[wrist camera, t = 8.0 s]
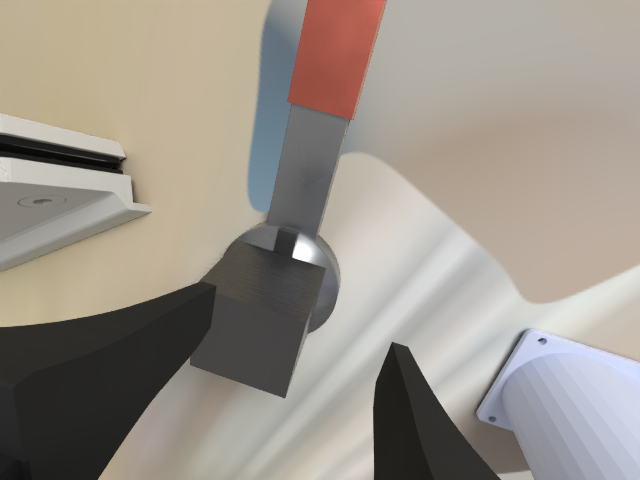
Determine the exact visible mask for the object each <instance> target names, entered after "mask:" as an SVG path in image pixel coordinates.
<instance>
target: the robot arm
mask: <svg viewBox="0 0 640 480" xmlns="http://www.w3.org/2000/svg"><path fill="white" fill-rule="evenodd" d="M216 287H217V286H216V285H213V284H209V283H206V282H203V281H202V282H199V283H196V284H193V285H190V286H188V287H185V288H182V289H180V290H177V291H174V292H171V293H169V294H166V295H163V296H161V297H158V298H155V299H152V300H149V301H146V302H142V303H139V304H136V305H133V306H130V307H126V308H123V309H119V310H115V311H111V312H107V313H103V314H98V315H94V316H88V317H83V318H77V319H71V320H66V321H60V322H52V323H44V324H35V325H26V326H14V327H0V480H98V478H99V477H100V475H101V474H102V472H103V471H104V469H105V468H106V466H107V465H108V463H109V462H110V460H111V458H112V457H113V455H114V454H115V452H116V451H117V450H118V448H119V447H120V445H121V444H122V442H123V441H124V439H125V438H126V436H127V435H128V433H129V432H130V431H131V429H132V428H133V426H134V425H135V423H136V422H137V421H138V419H139V418H140V416H141V415H142V414H143V412H144V411H145V409H146V408H147V407H148V405H149V404H150V403H151V401H152V400H153V399H154V398H155V396H156V395H157V394H158V393H159V391H160V390H161V389H162V388H163V387H164V386H165V385H166V383H167V382H168V381H169V380H170V379H171V378H172V377H173V375H174V374H175V373H176V372H177V371H178V370H179V368H180V367H181V366H182V365H183V364H184V363H185V362H186V360H187V359H188V358H189V357H190V356H191V355H192V353H193V352H194V351H195V350H196V349H197V347H198V346H199V344H200V343H201V341H202V340H203V338H204V337H205V335H206V334H207V332H208V331H209V329H210V328H211V322H212V315H213V308H214V301H215V294H216ZM540 338H544V339H543V340H542V341H538V340H539V339H540ZM477 416H478V418H479V420H481V421H483V422H486V423H489V424H492V425H495V426H498V427H501V428H504V429H507V430H509V431H512V432H514V434H515V436H516V438H517V440H518V443H519V445H520V447H521V450H522V452H523V454H524V457H525V459H526V461H527V463H528V466H529V468H530V470H531V473H532V475H533V477H534V480H640V362H637V361H634V360H631V359H628V358H624V357H621V356H618V355H615V354H612V353H609V352H605V351H602V350H599V349H596V348H593V347H590V346H586V345H583V344H580V343H577V342H574V341H571V340H567V339H564V338H561V337H558V336H555V335H552V334H548V333H545V332H542V331H539V330H536V329H529V330H527V331H526V332H525V333H524V334H523V336H522V337H521V339H520V341H519V342H518V344H517V346H516V347H515V349H514V351H513V352H512V354H511V356H510V357H509V359H508V360H507V362H506V364H505V365H504V367H503V369H502V370H501V372H500V374H499V375H498V377H497V379H496V380H495V382H494V383H493V385H492V387H491V388H490V390H489V392H488V393H487V395H486V397H485V398H484V400H483V402H482V403H481V405H480V407H479V408H478V410H477ZM491 416H493V417H491ZM373 430H374V480H501V479H500V478H499V477H498V476H497V475H496V474H495V473H494V472H493V471H492V470H491V468H490V467H489V466H488V465H487V464H486V463H485V462H484V460H483V459H482V458H481V457H480V456H479V455H478V454H477V452H476V451H475V450H474V449H473V448H472V446H471V445H470V444H469V443H468V442H467V440H466V439H465V438H464V436H463V435H462V434H461V432H460V431H459V430H458V428H457V427H456V426H455V425H454V423H453V422H452V420H451V419H450V418H449V416H448V415H447V413H446V412H445V410H444V409H443V407H442V406H441V404H440V403H439V401H438V399H437V398H436V396H435V395H434V393H433V391H432V390H431V388H430V386H429V385H428V383H427V381H426V379H425V378H424V376H423V374H422V372H421V370H420V369H419V367H418V365H417V363H416V361H415V359H414V357H413V355H412V354H411V352H410V350H409V348H408V347H407V346H403V345H400V344H397V343H394V342H392V343H391V346H390V348H389V351H388V353H387V356H386V358H385V361H384V363H383V366H382V368H381V371H380V373H379V376H378V378H377V381H376V386H375V395H374V405H373Z"/></svg>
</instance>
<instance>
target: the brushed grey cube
mask: <svg viewBox="0 0 640 480" xmlns="http://www.w3.org/2000/svg"><path fill="white" fill-rule="evenodd" d="M325 272H326V268H324V267H321V266H318V265H315V264H312V263H309V262H305V261H302V260H299V259H296V258H293V257H290V256H287V255H283V254H280V253H277V252H274V251H271V250H268V249H264V248H261V247H258V246H255V245H252V244H249V243H246V242H242V241H238V242H237V243H236V244H235V245H234V246H233V247H232V248H231V249H230V250H229V251H228V252H227V253H226V254H225V255H224V256H223V258H222V259H221V260H220V261H219V262H218V263H217V264H216V265H215V266H214V267H213V268H212V269H211V270H210V271H209V272H208V273H207V274H206V275H205V276H204V277H203V278H202V279H201V280H200V281H199V282H202V281H203V282H206V283H209V284H213V285H216V286H217V287H216V294H215V301H214V308H213V315H212V322H211V328H210V329H209V331H208V332H207V334H206V335H205V337H204V338H203V340H202V341H201V343H200V344H199V346H198V347H197V349H196V350H195V351H194V352H193V353H192V355H191V358H190V365H192V366H195V367H197V368H200V369H203V370H206V371H209V372H212V373H214V374H217V375H220V376H223V377H226V378H229V379H231V380H234V381H237V382H240V383H243V384H246V385H249V386H251V387H254V388H257V389H260V390H263V391H266V392H268V393H271V394H274V395H277V396H280V397H283V398H285V397H286V394H287V391H288V388H289V385H290V383H291V380H292V377H293V374H294V371H295V368H296V365H297V362H298V359H299V357H300V354H301V351H302V348H303V345H304V342H305V339H306V336H307V333H308V330H309V326H310V323H311V319H312V316H313V313H314V309H315V306H316V302H317V299H318V296H319V292H320V289H321V285H322V282H323V278H324V275H325ZM199 282H198V283H199Z"/></svg>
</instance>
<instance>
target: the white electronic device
mask: <svg viewBox="0 0 640 480" xmlns="http://www.w3.org/2000/svg"><path fill="white" fill-rule="evenodd" d="M125 157H126V156H125V154H124V151H123V149H122V147H121V146H120V144H119V143H118V142H116V141H112V140H108V139H104V138H100V137H96V136H92V135H88V134H83V133H79V132H75V131H71V130H67V129H63V128H59V127H55V126H50V125H46V124H42V123H38V122H34V121H30V120H26V119H22V118H17V117H13V116H9V115H5V114H1V113H0V270H7V269H9V268H12V267H14V266H17V265H19V264H22V263H24V262H27V261H29V260H32V259H34V258H37V257H39V256H42V255H44V254H47V253H49V252H52V251H54V250H57V249H59V248H62V247H65V246H67V245H70V244H72V243H75V242H77V241H80V240H82V239H85V238H87V237H90V236H92V235H95V234H97V233H100V232H102V231H105V230H107V229H110V228H112V227H115V226H117V225H120V224H122V223H125V222H127V221H130V220H132V219H135V218H137V217H140V216H143V215H145V214H148V213H150V212H152V210H151V207H150V205H148V204H140V203H133V197H132V186H131V176H128V175H123V172H122V170H116V169H111V168H113V167H115V166H117V165H119V164H120V160H121V159H123V158H125Z"/></svg>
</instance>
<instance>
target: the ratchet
mask: <svg viewBox="0 0 640 480" xmlns="http://www.w3.org/2000/svg"><path fill="white" fill-rule="evenodd" d="M386 2H387V0H308V3H307V8H306V13H305V18H304V23H303V28H302V33H301V37H300V42H299V47H298V52H297V58H296V62H295V67H294V72H293V78H292V82H291V87H290V92H289V97H288V102H290V103H292V105H291V110H290V115H289V120H288V125H287V129H286V134H285V139H284V144H283V148H282V154H281V158H280V163H279V168H278V173H277V177H276V182H275V187H274V192H273V197H272V201H271V206H270V211H269V216H268V221H267V222H263V223H260V224H258V225H256V226H253V227H252V228H250V229H249V230H247V231H246V232H245V233H243V234H242V235H241V236H239V237H238V238H237V239H236V240H235V241H234V242H233V243H232V244H231V245H230V246H229V247H228V249H227V250H226V252H225V254H226V253H227V252H228V251H229V250H230V249H231V248H232V247H233V246H234V245H235V244H236V243H237V242H238V241H242V242H246V243H249V244H252V245H255V246H258V247H261V248H264V249H268V250H271V251H274V252H277V253H280V254H283V255H287V256H290V257H293V258H296V259H299V260H302V261H305V262H309V263H312V264H315V265H318V266H321V267H324V268H326V272H325V275H324V278H323V282H322V285H321V289H320V292H319V296H318V299H317V302H316V306H315V309H314V313H313V316H312V319H311V323H310V326H309V330H308V333H307V334H309V333H311V332H313V331H315V330H316V329H318V328H319V327H320V326H322V325H323V324H324V323H325V322H326V320H327V319H328V318H329V317H330V315H331V313H332V312H333V309H334V307H335V304H336V300H337V296H338V292H339V288H340V280H341V279H340V269H339V265H338V262H337V259H336V257H335V255H334V253H333V251H332V250H331V248H330V247H329V245H328V244H327V243H326V242H325V241H324V240H323V239H322V238H321V237H320V236H319V231H320V227H321V224H322V220H323V216H324V213H325V209H326V206H327V202H328V198H329V195H330V191H331V187H332V184H333V180H334V176H335V173H336V169H337V166H338V162H339V158H340V155H341V151H342V147H343V144H344V140H345V136H346V133H347V129H348V125H349V122H350V119H351V120H354V117H355V113H356V110H357V106H358V103H359V99H360V95H361V92H362V88H363V85H364V81H365V77H366V74H367V70H368V67H369V63H370V59H371V56H372V52H373V49H374V45H375V42H376V38H377V34H378V31H379V27H380V24H381V20H382V16H383V13H384V9H385V6H386ZM225 254H224V255H225Z"/></svg>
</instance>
